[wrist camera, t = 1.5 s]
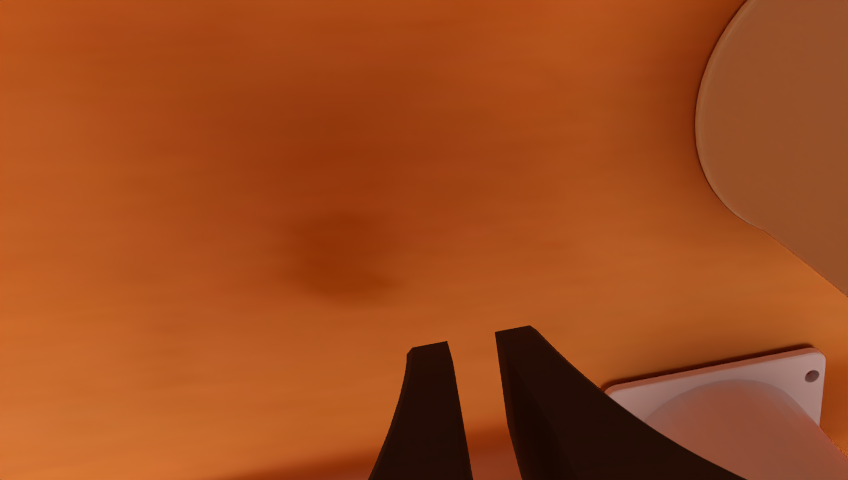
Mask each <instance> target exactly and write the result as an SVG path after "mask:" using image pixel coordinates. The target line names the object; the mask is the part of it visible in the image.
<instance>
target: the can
mask: <svg viewBox="0 0 848 480" xmlns="http://www.w3.org/2000/svg"><path fill="white" fill-rule="evenodd" d="M695 135H696V146H697V151H698V155H699V159H700V162H701V166H702V168H703V171H704V174H705V176H706V178H707V180H708V182H709V184H710V186H711V188H712V189H713V191H714V192H715V193H716V195H717V196H718V197H719V199H720V200H721V201H722V202H723V203H724V204H725V205H726V207H727V208H728V209H729V210H731V211H732V212H733V213H734V214H735V215H737V216H738V217H739V218H741V219H742V220H744V221H745V222H747V223H749V224H751V225H753V226H755V227H757V228H759V229H761V230H764V231H765V232H767V233H768V234H769V235H770V236H772V237H773V238H774V239H776V240H777V241H778V242H779V243H781V244H782V245H783V246H785V247H786V248H787V249H788V250H790V251H791V252H792V253H794V254H795V255H796V256H797V257H799V258H800V259H801V260H803V261H804V262H805V263H806V264H808V265H809V266H810V267H811V268H813V269H814V270H815V271H816V272H818V273H819V274H820V275H821V276H822V277H824V278H825V279H826V280H827V281H829V282H830V283H831V284H832V285H834V286H835V287H836V288H837V289H839V290H840V291H841V292H842V293H844V294H845V295H846V296H847V297H848V0H747V1H746V2H745V4H744V5H743V6H742V7H741V8H740V9H739V11H738V12H737V13H736V15H735V16H734V18H733V19H732V20H731V22H730V23H729V24H728V26H727V27H726V29H725V30H724V32H723V34H722V35H721V37H720V39H719V40H718V42H717V45H716V47H715V49H714V51H713V53H712V55H711V57H710V59H709V61H708V64H707V67H706V69H705V72H704V75H703V78H702V81H701V85H700V89H699V94H698V98H697V105H696V114H695Z"/></svg>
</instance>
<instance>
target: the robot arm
mask: <svg viewBox="0 0 848 480" xmlns="http://www.w3.org/2000/svg"><path fill="white" fill-rule="evenodd" d="M495 337H496V344H497V351H498V358H499V366H500V373H501V380H502V388H503V395H504V402H505V409H506V417H507V424H508V428H509V432H510V436H511V440H512V444H513V447H514V451H515V455H516V459H517V462H518V466H519V470H520V473H521V477H522V480H848V459H847V458H846V457H845V455H844V454H843V453H842V452H841V451H840V450H839V449H838V448H837V446H836V445H835V444H834V443H833V442H832V441H831V440H830V439H829V437H828V436H827V435H826V434H825V433H824V432H823V431H822V430H821V428H820V427H819V425H820V415H821V405H822V396H823V386H824V376H825V366H826V358H825V356H824V355H823V354H822V353H821V352H820V351H819V350H818V349H816V348H805V349H799V350H794V351H789V352H784V353H779V354H773V355H768V356H763V357H758V358H753V359H748V360H742V361H737V362H732V363H727V364H722V365H716V366H711V367H706V368H701V369H696V370H690V371H685V372H680V373H675V374H670V375H664V376H659V377H654V378H649V379H644V380H638V381H633V382H628V383H623V384H618V385H614V386H611V387H609V388H608V389H607V390H605V392H603V391H602V390H601V389H600V388H598V387H597V386H596V385H595V384H594V383H592V382H591V381H590V380H589V379H588V378H586V377H585V376H584V375H583V374H582V373H580V372H579V371H578V370H577V369H576V368H575V367H574V366H573V365H572V364H570V363H569V362H568V361H567V360H566V359H565V358H564V357H563V356H562V355H561V354H560V353H559V352H558V351H557V350H556V349H555V348H554V347H553V346H552V345H551V344H550V343H549V342H548V341H547V340H546V339H545V338H544V337H543V336H542V335H541V334H540V333H539V332H538V331H537V330H536V329H534V328H533V327H531V326H530V325H529V326H524V327H519V328H514V329H508V330H503V331H498V332H495ZM809 371H812V372H811V373H810V374H808V375H806V374H807V373H808V372H809ZM368 480H473V477H472V471H471V465H470V459H469V453H468V448H467V442H466V436H465V430H464V424H463V418H462V412H461V407H460V401H459V395H458V389H457V383H456V377H455V372H454V366H453V361H452V357H451V353H450V350H449V346H448V342H447V341H445V342H440V343H435V344H429V345H424V346H419V347H414V348H412V349H411V350H410V351H409V352H408V354H407V363H406V370H405V376H404V381H403V385H402V389H401V393H400V397H399V401H398V404H397V407H396V410H395V413H394V416H393V419H392V423H391V426H390V429H389V431H388V434H387V437H386V439H385V441H384V444H383V446H382V449H381V451H380V454H379V456H378V459H377V461H376V464H375V466H374V468H373V470H372V472H371V475H370V477H369V479H368Z"/></svg>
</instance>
